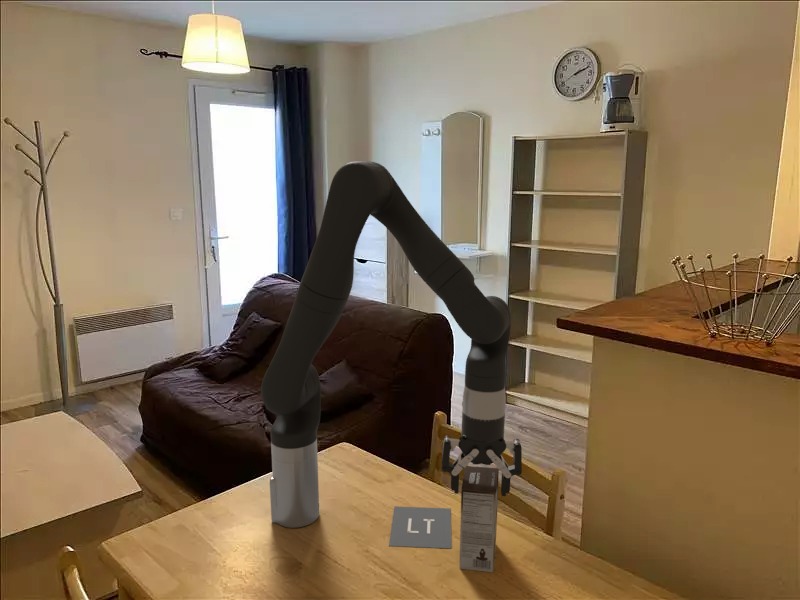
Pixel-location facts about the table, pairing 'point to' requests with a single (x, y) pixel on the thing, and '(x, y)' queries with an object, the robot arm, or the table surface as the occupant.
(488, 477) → the coffee box
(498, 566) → the table surface
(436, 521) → the mat
